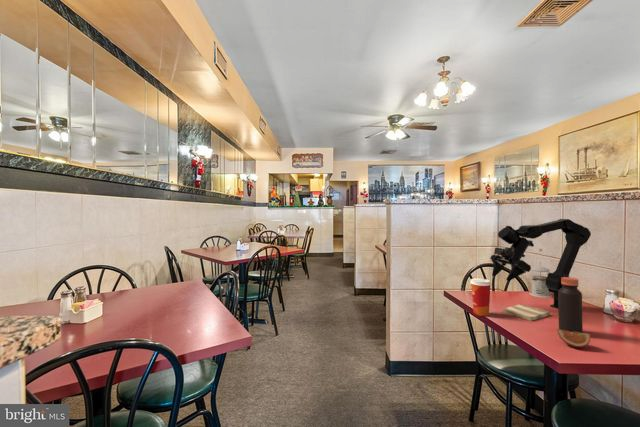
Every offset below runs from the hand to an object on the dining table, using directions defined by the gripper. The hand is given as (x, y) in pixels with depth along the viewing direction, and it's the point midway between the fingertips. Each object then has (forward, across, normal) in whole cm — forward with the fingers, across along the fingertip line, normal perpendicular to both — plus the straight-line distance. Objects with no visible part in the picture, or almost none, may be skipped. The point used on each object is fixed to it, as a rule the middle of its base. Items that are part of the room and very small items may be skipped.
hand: (500, 278), depth 132 cm
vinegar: (+7, +25, +16) cm, 31 cm away
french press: (-9, -19, +40) cm, 45 cm away
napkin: (+8, +5, +15) cm, 17 cm away
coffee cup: (+19, +3, -1) cm, 19 cm away
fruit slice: (+13, +35, +8) cm, 38 cm away
